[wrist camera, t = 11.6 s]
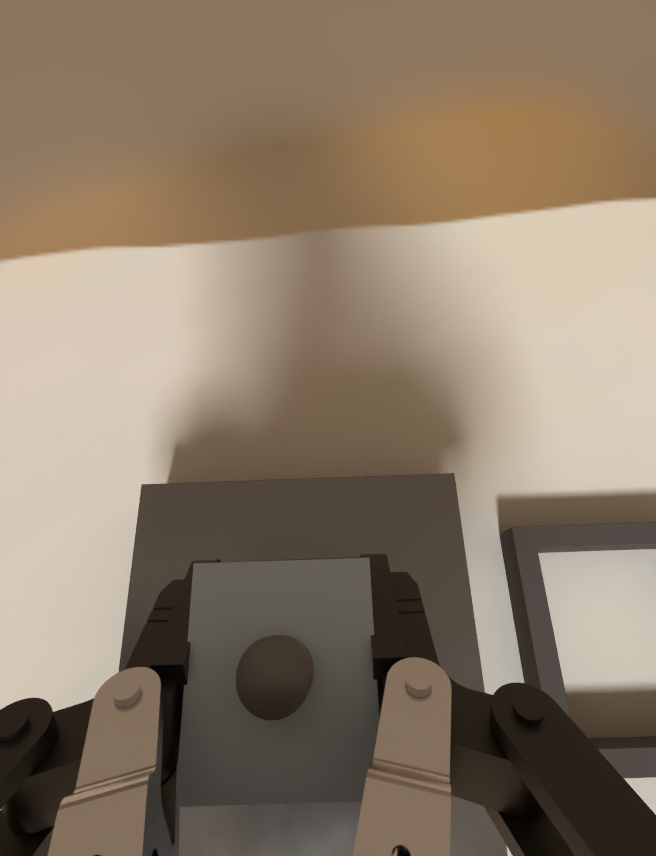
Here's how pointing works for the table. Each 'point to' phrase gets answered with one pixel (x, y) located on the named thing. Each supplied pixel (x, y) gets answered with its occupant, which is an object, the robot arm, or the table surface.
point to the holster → (536, 626)
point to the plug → (278, 684)
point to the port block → (306, 540)
